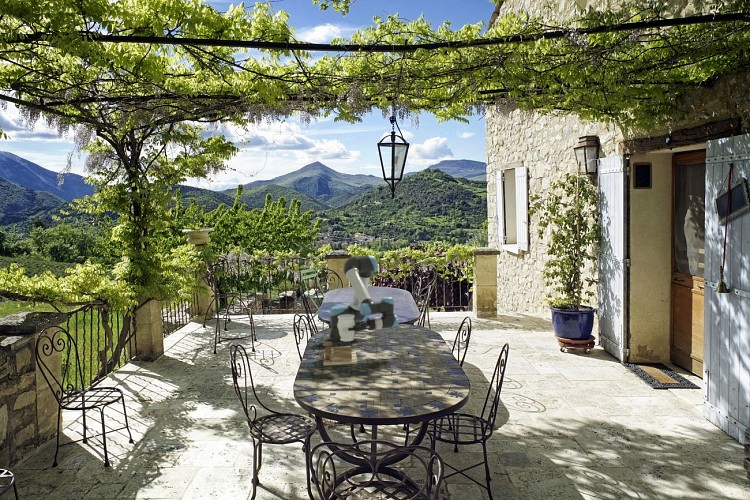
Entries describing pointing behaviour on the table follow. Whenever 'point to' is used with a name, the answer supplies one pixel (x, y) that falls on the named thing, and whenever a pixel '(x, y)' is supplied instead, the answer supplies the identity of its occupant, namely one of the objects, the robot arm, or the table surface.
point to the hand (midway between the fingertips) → (339, 327)
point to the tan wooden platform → (338, 355)
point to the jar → (346, 321)
